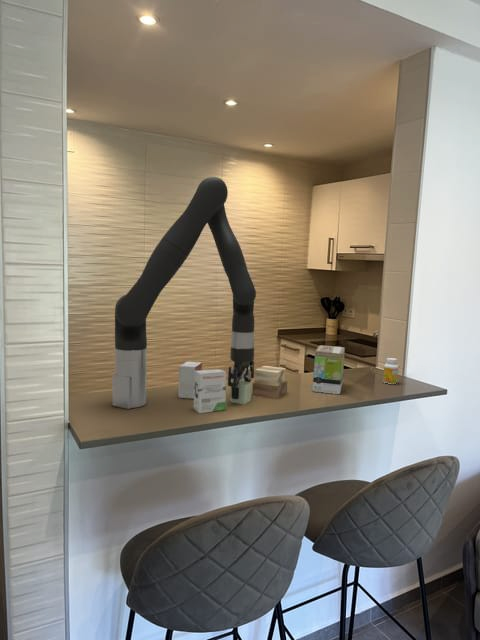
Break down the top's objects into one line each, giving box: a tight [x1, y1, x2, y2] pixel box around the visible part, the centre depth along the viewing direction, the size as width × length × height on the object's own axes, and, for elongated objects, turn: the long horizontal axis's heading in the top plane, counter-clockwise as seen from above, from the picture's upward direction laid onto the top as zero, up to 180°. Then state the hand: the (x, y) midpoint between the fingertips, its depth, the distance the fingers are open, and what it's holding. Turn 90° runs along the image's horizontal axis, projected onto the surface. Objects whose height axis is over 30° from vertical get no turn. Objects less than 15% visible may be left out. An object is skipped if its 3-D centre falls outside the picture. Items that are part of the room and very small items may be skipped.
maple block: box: [254, 365, 287, 386], centre depth 153 cm, size 8×8×4 cm
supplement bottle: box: [382, 357, 399, 385], centre depth 175 cm, size 5×5×10 cm
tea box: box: [311, 344, 346, 395], centre depth 164 cm, size 15×10×15 cm
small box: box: [178, 361, 203, 400], centre depth 149 cm, size 8×6×10 cm
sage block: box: [229, 380, 252, 405], centre depth 144 cm, size 5×5×6 cm
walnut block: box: [251, 380, 288, 400], centre depth 154 cm, size 9×9×4 cm
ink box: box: [193, 368, 227, 414], centre depth 134 cm, size 9×5×12 cm, turn 116°
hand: (240, 395), depth 145 cm, fingers open, 8 cm apart
